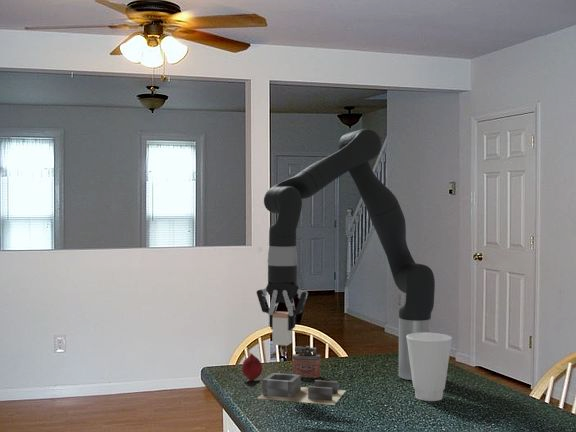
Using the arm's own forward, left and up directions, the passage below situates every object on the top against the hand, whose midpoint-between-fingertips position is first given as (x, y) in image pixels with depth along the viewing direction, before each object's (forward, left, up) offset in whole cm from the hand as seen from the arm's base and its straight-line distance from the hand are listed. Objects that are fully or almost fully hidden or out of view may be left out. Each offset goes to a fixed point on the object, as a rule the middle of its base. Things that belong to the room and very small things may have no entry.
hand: (282, 329), depth 184 cm
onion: (+13, -15, -18) cm, 27 cm away
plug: (0, 0, -4) cm, 4 cm away
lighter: (-2, -19, -18) cm, 26 cm away
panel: (-6, 0, -18) cm, 19 cm away
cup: (-37, -12, -18) cm, 43 cm away
